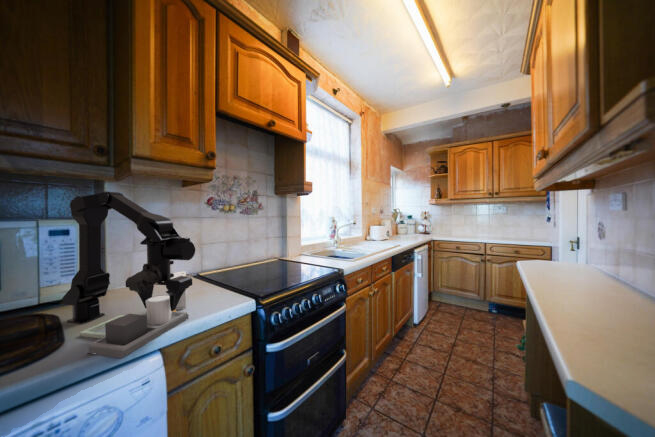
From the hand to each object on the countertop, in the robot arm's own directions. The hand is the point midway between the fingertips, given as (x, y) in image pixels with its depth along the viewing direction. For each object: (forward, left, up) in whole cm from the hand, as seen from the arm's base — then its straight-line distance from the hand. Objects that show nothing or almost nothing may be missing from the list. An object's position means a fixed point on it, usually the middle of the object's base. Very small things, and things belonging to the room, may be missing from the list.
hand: (160, 309), depth 72 cm
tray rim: (-11, -4, -5) cm, 13 cm away
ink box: (-6, +14, -5) cm, 16 cm away
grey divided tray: (0, -5, -5) cm, 7 cm away
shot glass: (0, 0, -4) cm, 4 cm away
